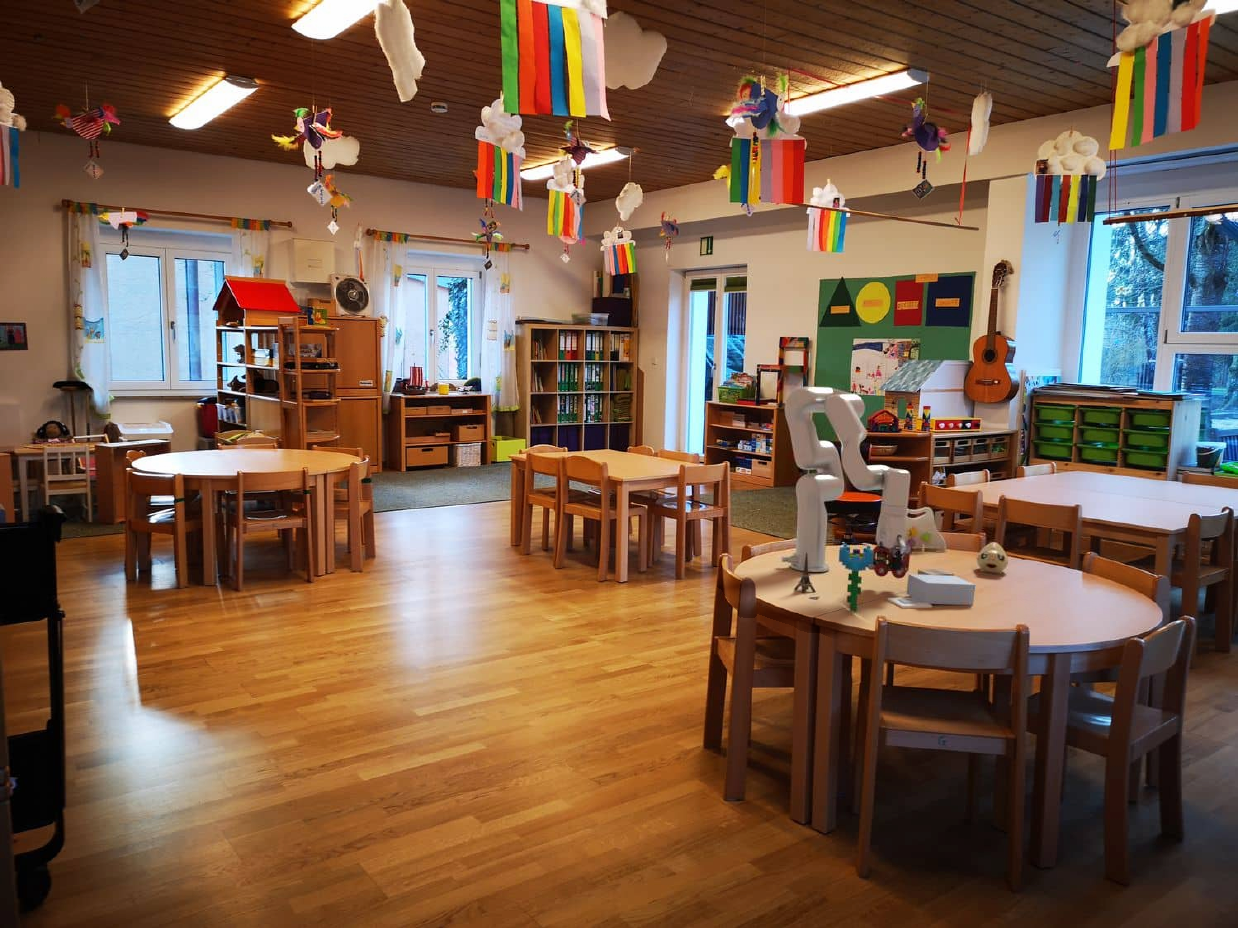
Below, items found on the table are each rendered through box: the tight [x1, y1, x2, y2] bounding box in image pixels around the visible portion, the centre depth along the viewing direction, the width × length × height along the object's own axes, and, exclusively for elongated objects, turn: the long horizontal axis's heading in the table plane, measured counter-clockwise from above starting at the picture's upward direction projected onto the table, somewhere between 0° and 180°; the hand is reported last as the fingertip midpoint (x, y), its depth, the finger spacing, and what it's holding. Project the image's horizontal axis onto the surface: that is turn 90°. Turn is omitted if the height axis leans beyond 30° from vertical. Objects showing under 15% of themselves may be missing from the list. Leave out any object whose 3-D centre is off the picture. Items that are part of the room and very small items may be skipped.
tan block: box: [917, 568, 955, 576], centre depth 270 cm, size 8×7×6 cm
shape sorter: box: [904, 506, 947, 554], centre depth 323 cm, size 20×10×18 cm, turn 111°
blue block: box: [906, 573, 976, 606], centre depth 258 cm, size 15×11×6 cm
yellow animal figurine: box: [976, 541, 1009, 574], centre depth 295 cm, size 10×12×11 cm
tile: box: [887, 597, 933, 609], centre depth 253 cm, size 9×9×1 cm
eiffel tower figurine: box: [793, 553, 820, 600], centre depth 263 cm, size 15×10×13 cm
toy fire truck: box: [868, 541, 913, 579], centre depth 267 cm, size 7×12×10 cm, turn 79°
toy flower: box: [838, 543, 874, 612], centre depth 244 cm, size 9×9×18 cm
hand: (888, 565), depth 267 cm, fingers closed on toy fire truck, 8 cm apart
